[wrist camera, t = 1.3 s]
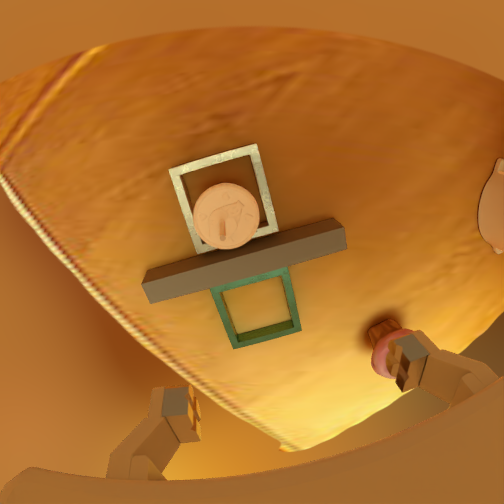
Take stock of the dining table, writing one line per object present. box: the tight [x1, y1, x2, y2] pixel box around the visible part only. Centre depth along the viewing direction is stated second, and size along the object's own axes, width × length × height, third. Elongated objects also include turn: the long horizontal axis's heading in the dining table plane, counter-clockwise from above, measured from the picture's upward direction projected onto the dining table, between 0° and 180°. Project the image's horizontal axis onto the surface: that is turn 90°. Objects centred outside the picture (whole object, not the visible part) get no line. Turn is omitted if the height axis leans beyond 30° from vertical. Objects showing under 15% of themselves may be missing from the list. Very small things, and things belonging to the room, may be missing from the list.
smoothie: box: [193, 182, 260, 249], centre depth 31 cm, size 6×6×14 cm
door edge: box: [141, 218, 347, 304], centre depth 39 cm, size 26×3×4 cm, turn 105°
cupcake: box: [368, 319, 414, 379], centre depth 44 cm, size 9×9×10 cm
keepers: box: [169, 143, 302, 349], centre depth 40 cm, size 10×27×2 cm, turn 15°
